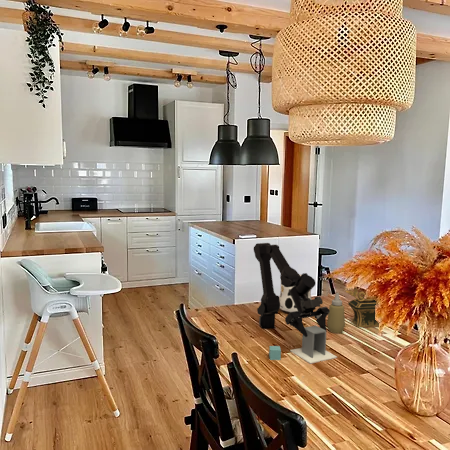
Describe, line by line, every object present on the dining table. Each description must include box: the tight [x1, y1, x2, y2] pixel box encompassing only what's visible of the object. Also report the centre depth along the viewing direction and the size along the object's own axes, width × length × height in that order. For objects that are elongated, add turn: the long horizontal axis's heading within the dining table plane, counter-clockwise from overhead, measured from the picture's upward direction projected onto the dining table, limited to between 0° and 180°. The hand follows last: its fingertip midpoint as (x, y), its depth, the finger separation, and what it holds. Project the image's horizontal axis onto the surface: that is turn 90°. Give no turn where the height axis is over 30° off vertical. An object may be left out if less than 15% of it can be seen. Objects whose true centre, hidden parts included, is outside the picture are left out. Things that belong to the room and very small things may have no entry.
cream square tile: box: [290, 347, 338, 364], centre depth 172 cm, size 13×13×1 cm
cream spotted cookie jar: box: [278, 273, 312, 314], centre depth 225 cm, size 17×17×18 cm
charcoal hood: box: [301, 325, 327, 358], centre depth 171 cm, size 6×6×10 cm
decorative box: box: [345, 287, 380, 328], centre depth 206 cm, size 20×10×20 cm, turn 99°
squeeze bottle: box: [326, 292, 346, 334], centre depth 197 cm, size 8×8×18 cm
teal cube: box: [268, 345, 282, 361], centre depth 168 cm, size 4×4×4 cm
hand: (316, 334), depth 170 cm, fingers open, 9 cm apart
